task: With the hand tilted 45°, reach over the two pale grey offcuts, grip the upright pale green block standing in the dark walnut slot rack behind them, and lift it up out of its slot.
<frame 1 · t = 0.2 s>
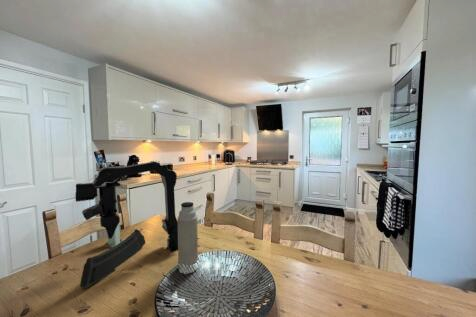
hand: (109, 234, 84), 14 cm above the table, tool pointing down, fingers open, 9 cm apart
rack: (114, 245, 102), on the table
thermos bottle: (188, 268, 84), on the table
magazine: (118, 266, 86), on the table
offcut upper: (126, 244, 102), point 1 cm above the table, touching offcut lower
pale green block: (113, 235, 102), in the rack
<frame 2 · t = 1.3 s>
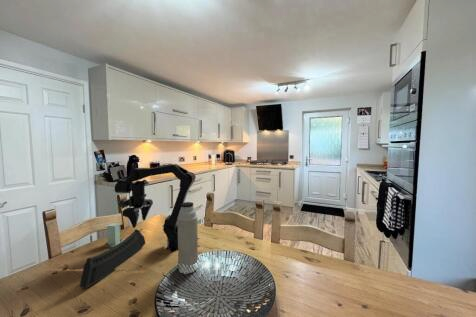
hand: (139, 223, 101), 12 cm above the table, tool pointing down, fingers open, 9 cm apart
offcut upper: (126, 244, 102), point 1 cm above the table
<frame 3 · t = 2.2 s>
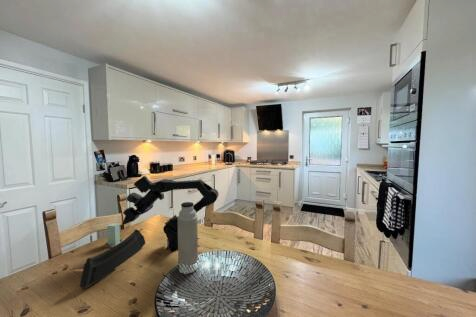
hand: (128, 220, 101), 13 cm above the table, tool tilted 45°, fingers open, 9 cm apart
nothing on the table moved.
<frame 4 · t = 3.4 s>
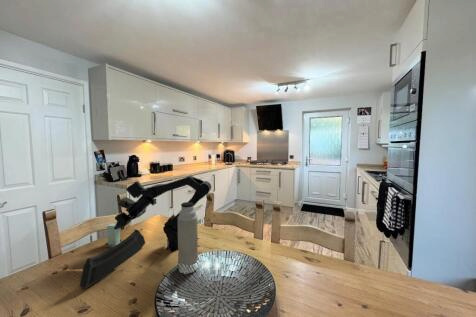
hand: (120, 225, 101), 11 cm above the table, tool tilted 45°, fingers open, 9 cm apart
nothing on the table moved.
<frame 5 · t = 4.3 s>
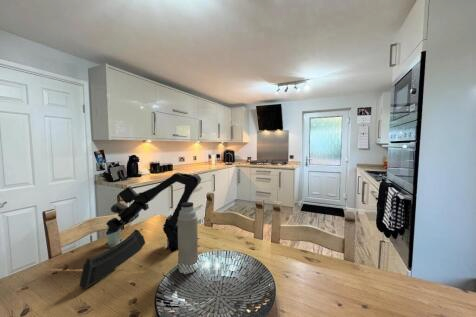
hand: (113, 230, 102), 8 cm above the table, tool tilted 45°, fingers open, 9 cm apart
offcut upper: (126, 244, 102), point 1 cm above the table, touching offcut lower
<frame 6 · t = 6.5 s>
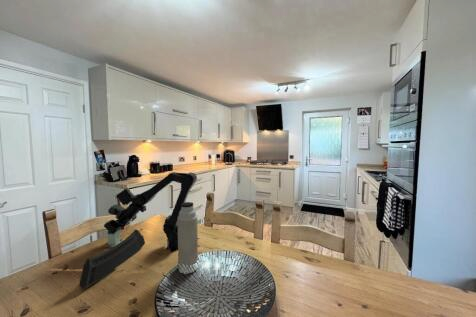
hand: (110, 232, 102), 7 cm above the table, tool tilted 45°, fingers closed on pale green block, 3 cm apart
pale green block: (113, 235, 102), in the rack, touching gripper
everything else where it was.
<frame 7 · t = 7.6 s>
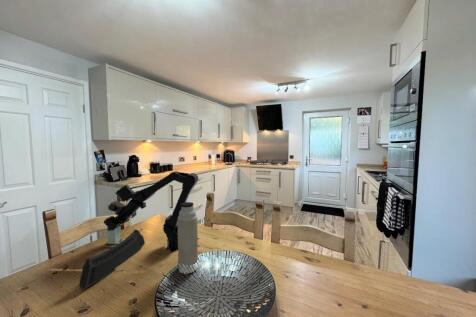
hand: (110, 228, 102), 9 cm above the table, tool tilted 45°, fingers closed on pale green block, 3 cm apart
pale green block: (113, 231, 102), point 7 cm above the table, touching gripper
everything else where it was.
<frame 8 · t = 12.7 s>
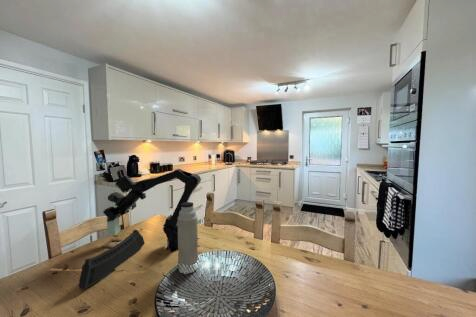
hand: (110, 219, 101), 14 cm above the table, tool tilted 45°, fingers closed on pale green block, 3 cm apart
offcut upper: (125, 244, 102), point 1 cm above the table
pale green block: (113, 222, 102), point 12 cm above the table, touching gripper
at the end: the gripper is holding pale green block; pale green block point 11.9 cm above the table; pale green block touching gripper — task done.
